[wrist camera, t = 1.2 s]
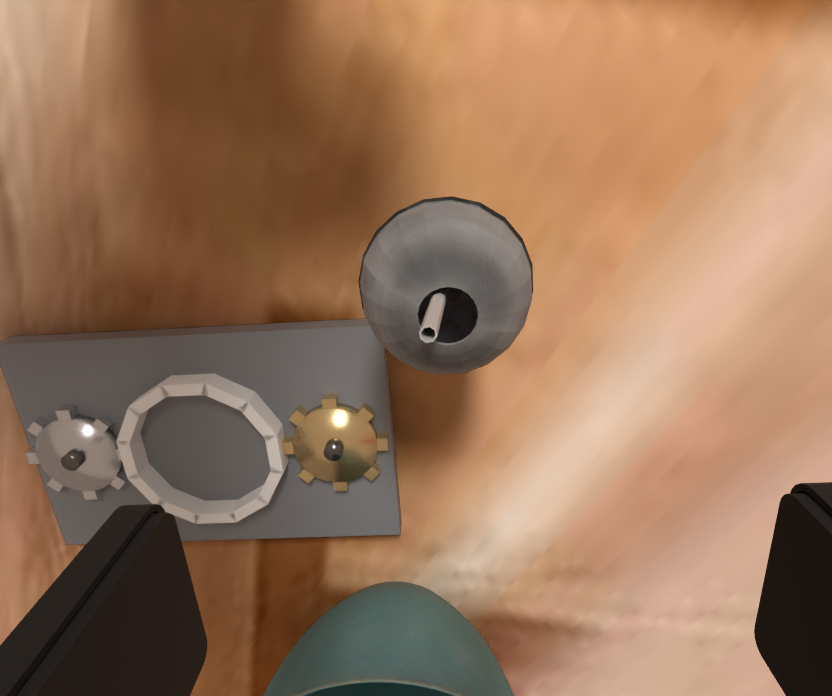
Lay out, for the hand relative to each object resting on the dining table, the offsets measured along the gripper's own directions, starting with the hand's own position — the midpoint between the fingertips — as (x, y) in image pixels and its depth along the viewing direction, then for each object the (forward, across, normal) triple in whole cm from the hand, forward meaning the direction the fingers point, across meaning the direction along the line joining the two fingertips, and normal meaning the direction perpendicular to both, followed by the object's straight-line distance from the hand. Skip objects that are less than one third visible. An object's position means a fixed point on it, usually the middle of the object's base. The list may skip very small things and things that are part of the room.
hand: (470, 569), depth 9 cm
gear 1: (+26, +26, +12) cm, 38 cm away
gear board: (+27, +17, +12) cm, 34 cm away
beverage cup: (+27, 0, 0) cm, 27 cm away
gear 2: (+26, +8, +12) cm, 30 cm away
